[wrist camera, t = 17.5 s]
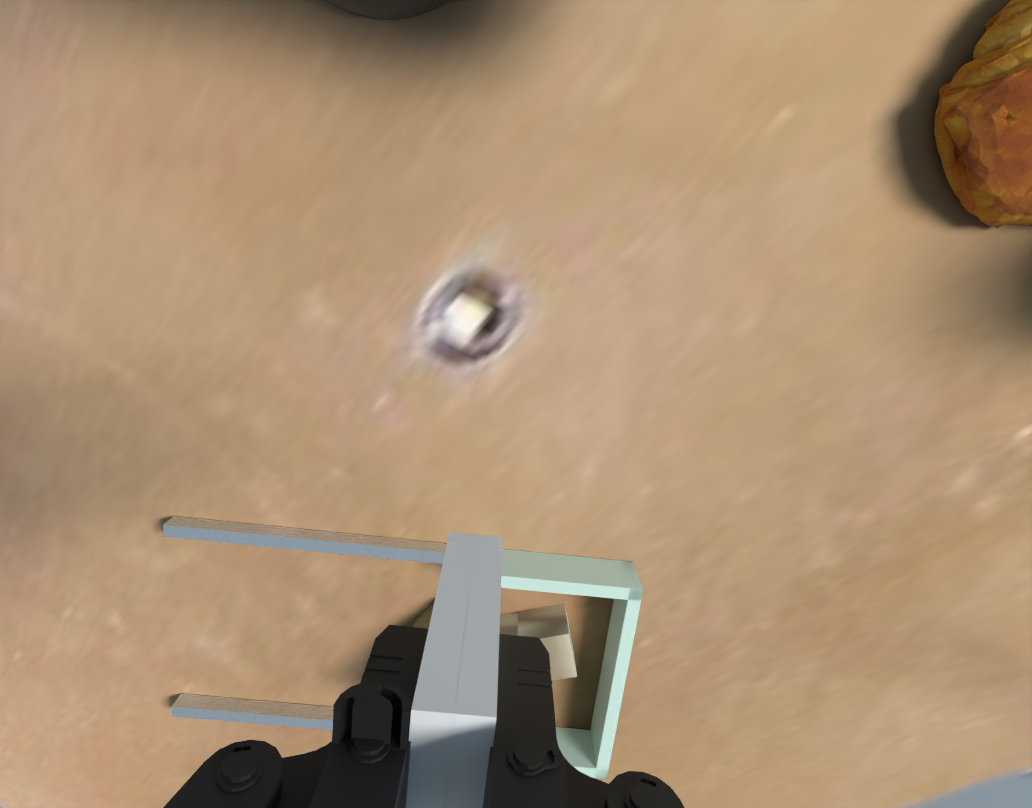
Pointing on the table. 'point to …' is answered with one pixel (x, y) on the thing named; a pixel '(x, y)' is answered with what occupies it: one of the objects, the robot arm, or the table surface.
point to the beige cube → (551, 637)
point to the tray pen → (624, 586)
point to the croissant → (992, 122)
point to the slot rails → (290, 540)
